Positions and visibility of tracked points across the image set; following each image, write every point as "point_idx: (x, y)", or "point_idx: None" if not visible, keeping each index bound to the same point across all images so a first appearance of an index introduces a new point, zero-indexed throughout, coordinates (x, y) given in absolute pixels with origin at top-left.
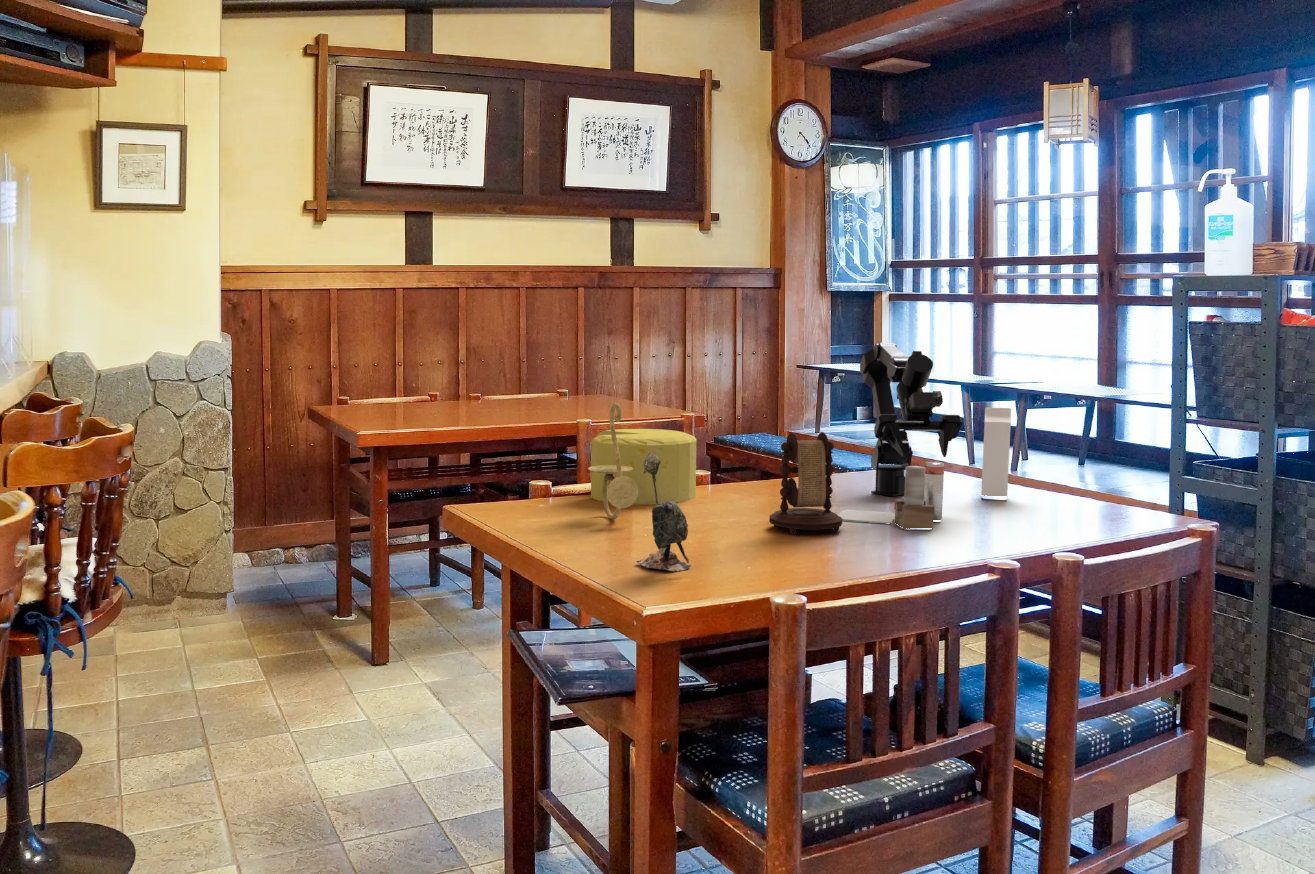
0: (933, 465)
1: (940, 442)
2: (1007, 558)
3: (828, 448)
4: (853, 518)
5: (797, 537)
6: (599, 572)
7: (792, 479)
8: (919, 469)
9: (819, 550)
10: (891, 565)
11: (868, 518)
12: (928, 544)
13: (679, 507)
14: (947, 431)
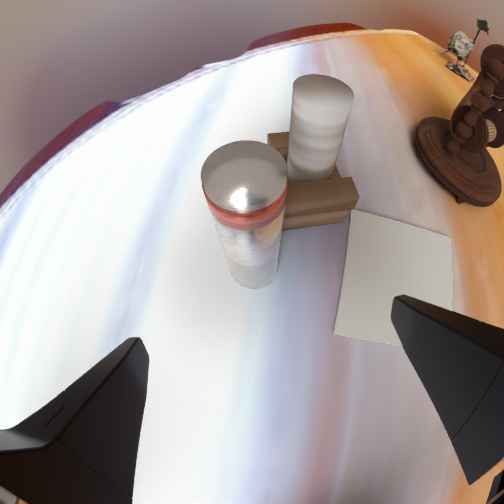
0: (254, 143)
1: (119, 489)
2: (204, 69)
3: (482, 55)
4: (422, 242)
5: None
6: (474, 73)
7: (496, 110)
8: (310, 75)
9: (398, 83)
10: (323, 49)
11: (397, 247)
12: (285, 96)
13: (457, 33)
14: (16, 439)
